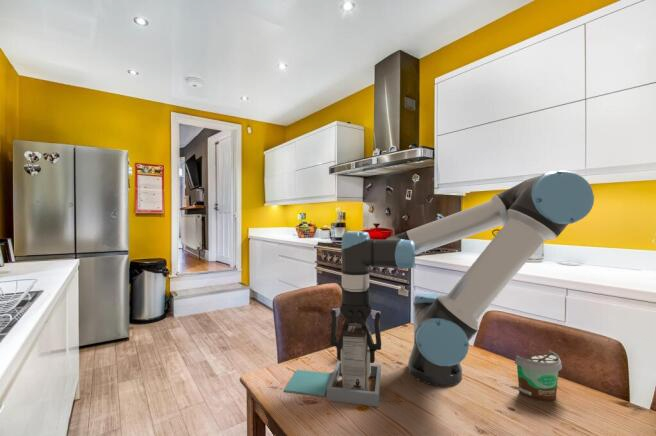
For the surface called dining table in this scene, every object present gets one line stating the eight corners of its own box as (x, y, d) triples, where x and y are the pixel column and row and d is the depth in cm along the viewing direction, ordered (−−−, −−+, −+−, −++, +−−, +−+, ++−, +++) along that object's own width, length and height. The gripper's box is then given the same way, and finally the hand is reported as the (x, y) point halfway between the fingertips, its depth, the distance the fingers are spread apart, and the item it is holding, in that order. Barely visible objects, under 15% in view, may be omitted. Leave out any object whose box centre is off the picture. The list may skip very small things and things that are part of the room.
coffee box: (346, 377, 88) (346, 321, 88) (368, 379, 87) (368, 323, 87) (341, 395, 79) (341, 333, 79) (366, 398, 78) (366, 335, 78)
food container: (536, 408, 74) (536, 366, 73) (514, 393, 79) (514, 355, 79) (574, 399, 77) (574, 360, 77) (550, 386, 83) (550, 349, 83)
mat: (332, 374, 89) (332, 373, 89) (324, 396, 79) (324, 394, 79) (296, 371, 92) (296, 369, 92) (284, 391, 81) (284, 389, 81)
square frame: (381, 375, 89) (381, 365, 89) (378, 406, 74) (378, 394, 74) (337, 370, 92) (337, 361, 92) (326, 400, 77) (326, 388, 77)
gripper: (391, 286, 84) (392, 369, 85) (323, 283, 89) (324, 362, 89) (391, 293, 77) (392, 383, 77) (317, 289, 81) (318, 375, 81)
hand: (355, 372), depth 83 cm, fingers closed on coffee box, 6 cm apart
